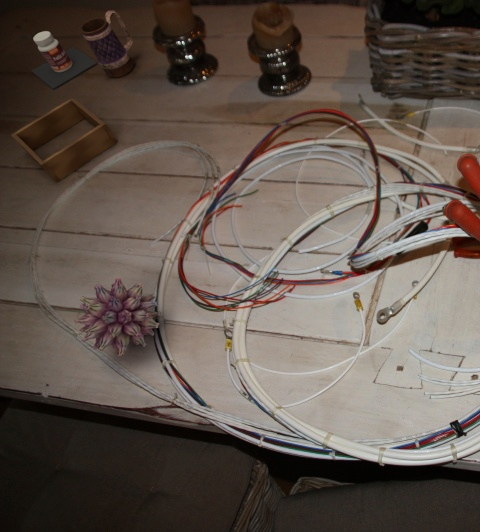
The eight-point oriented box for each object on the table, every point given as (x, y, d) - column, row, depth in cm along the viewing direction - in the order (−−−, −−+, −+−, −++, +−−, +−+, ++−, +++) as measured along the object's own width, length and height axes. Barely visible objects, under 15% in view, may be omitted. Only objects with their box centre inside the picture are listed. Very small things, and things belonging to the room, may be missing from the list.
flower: (132, 305, 93) (188, 303, 89) (98, 368, 86) (157, 369, 82) (83, 264, 85) (142, 260, 81) (40, 331, 78) (103, 330, 74)
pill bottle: (65, 73, 132) (42, 43, 125) (50, 71, 133) (27, 41, 126) (77, 61, 134) (55, 30, 128) (62, 59, 136) (40, 29, 129)
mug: (118, 81, 128) (89, 35, 119) (100, 73, 131) (70, 28, 121) (150, 57, 133) (125, 11, 123) (132, 50, 135) (105, 4, 126)
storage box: (57, 182, 111) (41, 165, 107) (26, 152, 117) (10, 134, 113) (118, 141, 116) (105, 123, 112) (85, 115, 122) (72, 97, 118)
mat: (53, 90, 129) (52, 88, 129) (32, 72, 135) (31, 70, 134) (97, 64, 134) (96, 62, 133) (74, 47, 139) (74, 46, 139)
